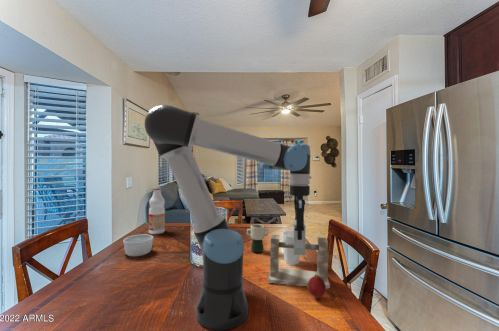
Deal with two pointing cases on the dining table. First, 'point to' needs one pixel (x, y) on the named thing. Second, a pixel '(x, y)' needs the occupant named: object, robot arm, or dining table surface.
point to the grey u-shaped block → (296, 250)
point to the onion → (316, 286)
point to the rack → (297, 275)
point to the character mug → (257, 236)
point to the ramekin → (138, 244)
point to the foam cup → (289, 252)
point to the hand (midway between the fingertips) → (298, 243)
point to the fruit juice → (156, 212)
